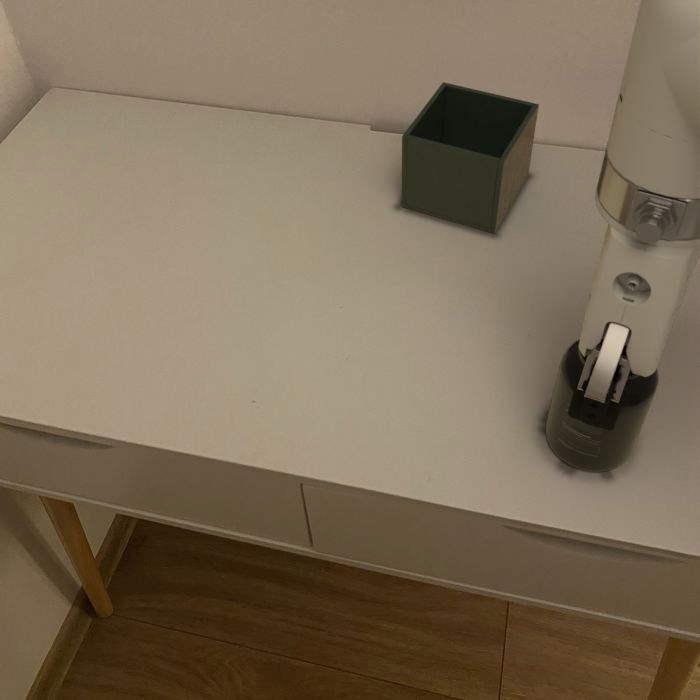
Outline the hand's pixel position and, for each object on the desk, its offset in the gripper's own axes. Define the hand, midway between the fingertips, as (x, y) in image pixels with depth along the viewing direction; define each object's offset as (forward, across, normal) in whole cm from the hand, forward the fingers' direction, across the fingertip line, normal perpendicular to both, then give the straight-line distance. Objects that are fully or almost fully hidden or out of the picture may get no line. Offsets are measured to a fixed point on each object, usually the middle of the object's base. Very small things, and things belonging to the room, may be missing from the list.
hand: (606, 380), depth 59 cm
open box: (+7, +24, +20) cm, 32 cm away
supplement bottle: (+7, 0, 0) cm, 7 cm away
